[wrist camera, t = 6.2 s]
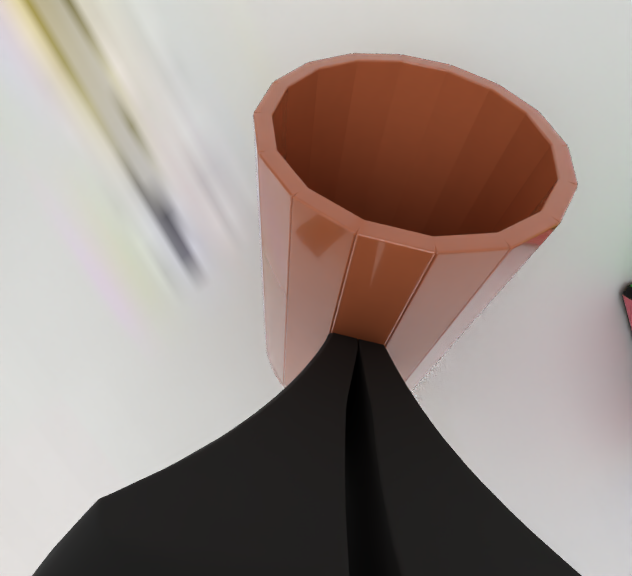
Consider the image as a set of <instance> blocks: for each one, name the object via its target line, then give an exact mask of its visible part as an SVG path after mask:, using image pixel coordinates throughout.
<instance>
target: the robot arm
mask: <svg viewBox="0 0 632 576" xmlns="http://www.w3.org/2000/svg"><path fill="white" fill-rule="evenodd" d="M32 576H581V575H580V574H579V573H578V572H577V571H576V570H574V569H573V568H572V567H571V566H570V565H569V564H568V563H566V562H565V561H564V560H563V559H562V558H561V557H560V556H559V555H557V554H556V553H555V552H554V551H553V550H552V549H551V548H550V547H548V546H547V545H546V544H545V543H544V542H543V541H542V540H541V539H540V538H538V537H537V536H536V535H535V534H534V533H533V532H532V531H531V530H530V529H529V528H528V527H527V526H525V525H524V524H523V523H522V522H521V521H520V520H519V519H518V518H517V517H516V516H515V515H514V514H513V513H512V512H511V511H510V510H509V509H508V508H507V507H506V506H505V505H504V504H503V503H502V502H501V501H500V500H499V499H498V498H497V497H496V496H495V495H494V494H493V493H492V492H491V491H490V490H489V489H488V488H487V487H486V486H485V485H484V484H483V483H482V482H481V481H480V480H479V479H478V478H477V476H476V475H475V474H474V473H473V472H472V471H471V470H470V469H469V468H468V467H467V465H466V464H465V463H464V462H463V461H462V460H461V458H460V457H459V456H458V455H457V454H456V452H455V451H454V450H453V449H452V448H451V447H450V445H449V444H448V443H447V442H446V441H445V439H444V438H443V437H442V436H441V434H440V433H439V432H438V430H437V429H436V428H435V427H434V425H433V424H432V422H431V421H430V420H429V418H428V417H427V415H426V414H425V413H424V411H423V410H422V408H421V407H420V406H419V404H418V403H417V401H416V399H415V398H414V396H413V395H412V393H411V391H410V390H409V388H408V387H407V385H406V383H405V382H404V380H403V378H402V377H401V375H400V373H399V371H398V370H397V368H396V366H395V364H394V362H393V361H392V359H391V357H390V355H389V353H388V351H387V349H386V348H385V346H384V345H382V344H378V343H374V342H369V341H365V340H361V339H359V340H358V341H357V338H353V337H349V336H345V335H341V334H337V333H330V334H328V336H327V338H326V340H325V342H324V344H323V345H322V347H321V348H320V349H319V351H318V352H317V354H316V355H315V356H314V357H313V359H312V360H311V361H310V362H309V363H308V365H307V366H306V367H305V368H304V369H303V370H302V371H301V373H300V374H299V375H298V376H297V377H296V378H295V379H294V380H293V381H292V382H291V383H290V384H289V385H288V386H287V387H286V388H285V389H284V390H282V391H281V392H280V393H279V394H278V395H277V396H276V397H275V398H273V399H272V400H271V401H270V402H269V403H267V404H266V405H265V406H264V407H262V408H261V409H260V410H259V411H257V412H256V413H255V414H253V415H252V416H251V417H249V418H248V419H246V420H245V421H244V422H242V423H241V424H239V425H238V426H237V427H235V428H234V429H232V430H231V431H229V432H228V433H226V434H225V435H223V436H222V437H220V438H218V439H217V440H215V441H213V442H212V443H210V444H208V445H206V446H205V447H203V448H201V449H199V450H198V451H196V452H194V453H192V454H191V455H189V456H187V457H185V458H184V459H182V460H180V461H178V462H176V463H175V464H173V465H171V466H169V467H167V468H165V469H163V470H161V471H159V472H157V473H154V474H152V475H150V476H148V477H146V478H144V479H142V480H139V481H137V482H135V483H133V484H131V485H129V486H127V487H125V488H122V489H120V490H118V491H116V492H114V493H112V494H109V495H107V496H105V497H102V498H100V499H98V500H97V502H96V503H95V504H94V505H93V506H92V507H91V508H90V509H89V510H88V511H87V512H86V513H85V514H84V515H83V516H82V518H81V519H80V520H79V521H78V522H77V523H76V524H75V525H74V526H73V527H72V528H71V530H70V531H69V532H68V533H67V534H66V535H65V536H64V537H63V538H62V540H61V541H60V542H59V543H58V544H57V545H56V546H55V547H54V548H53V550H52V551H51V552H50V553H49V554H48V556H47V557H46V558H45V560H44V561H43V562H42V564H41V565H40V566H39V567H38V569H37V570H36V571H35V573H34V574H33V575H32Z"/></svg>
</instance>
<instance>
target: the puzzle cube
mask: <svg viewBox="0 0 632 576" xmlns="http://www.w3.org/2000/svg"><path fill="white" fill-rule="evenodd" d="M622 295H623V299H624V303H625V307H626V310H627V314H628V318H629V322H630V326H631V329H632V285H629V286H628V287H627V288H626V290H625V291H624V293H623V294H622Z"/></svg>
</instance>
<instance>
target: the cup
mask: <svg viewBox="0 0 632 576" xmlns="http://www.w3.org/2000/svg"><path fill="white" fill-rule="evenodd" d="M253 122H254V141H255V159H256V178H257V197H258V215H259V234H260V253H261V271H262V290H263V309H264V327H265V338H266V350H267V356H268V359H269V362H270V365H271V367H272V369H273V371H274V373H275V375H276V377H277V378H278V380H279V381H280V383H281V384H282V385H283V386H284V388H286V387H287V386H288V385H289V384H290V383H291V382H292V381H293V380H294V379H295V378H296V377H297V376H298V375H299V374H300V373H301V371H302V370H303V369H304V368H305V367H306V366H307V365H308V363H309V362H310V361H311V360H312V359H313V357H314V356H315V355H316V354H317V352H318V351H319V349H320V348H321V347H322V345H323V344H324V342H325V340H326V338H327V336H328V334H330V333H337V334H341V335H345V336H349V337H353V338H357V341H358V340H359V339H361V340H365V341H369V342H374V343H378V344H382V345H384V346H385V348H386V349H387V351H388V353H389V355H390V357H391V359H392V361H393V362H394V364H395V366H396V368H397V370H398V371H399V373H400V375H401V377H402V378H403V380H404V382H405V383H406V385H407V387H408V388H409V390H410V391H412V390H413V388H414V387H415V386H416V385H417V384H418V383H419V382H420V381H421V379H422V378H423V377H424V376H425V375H426V374H427V373H428V372H429V370H430V369H431V368H432V367H433V366H434V365H435V364H436V363H437V361H438V360H439V359H440V358H441V357H442V356H443V355H444V354H445V352H446V351H447V350H448V349H449V348H450V347H451V346H452V344H453V343H454V342H455V341H456V340H457V339H458V338H459V337H460V335H461V334H462V333H463V332H464V331H465V330H466V329H467V328H468V326H469V325H470V324H471V323H472V322H473V321H474V320H475V319H476V317H477V316H478V315H479V314H480V313H481V312H482V311H483V310H484V308H485V307H486V306H487V305H488V304H489V303H490V302H491V301H492V299H493V298H494V297H495V296H496V295H497V294H498V293H499V292H500V290H501V289H502V288H503V287H504V286H505V285H506V284H507V282H508V281H509V280H510V279H511V278H512V277H513V276H514V275H515V273H516V272H517V271H518V270H519V269H520V268H521V267H522V266H523V264H524V263H525V262H526V261H527V260H528V259H529V258H530V257H531V255H532V254H533V253H534V252H535V251H536V250H537V249H538V248H539V246H540V245H541V244H542V243H543V242H544V241H545V240H546V239H547V237H548V236H549V235H550V234H551V233H552V232H553V231H554V230H555V228H556V227H557V226H558V225H559V224H560V223H561V221H562V218H563V216H564V214H565V212H566V210H567V208H568V206H569V204H570V202H571V200H572V198H573V196H574V194H575V191H576V189H577V185H578V183H577V179H576V175H575V171H574V167H573V163H572V159H571V155H570V151H569V147H567V144H566V143H565V142H564V141H563V139H562V138H561V137H560V136H559V135H558V133H557V132H556V131H555V130H554V129H553V127H552V126H551V125H550V124H549V123H548V121H547V120H546V119H545V118H544V117H543V115H542V114H541V113H540V112H538V110H536V109H535V108H533V107H532V106H530V105H529V104H527V103H526V102H524V101H523V100H521V99H520V98H518V97H517V96H515V95H514V94H512V93H511V92H509V91H508V90H506V89H505V88H503V87H502V86H500V85H497V83H494V82H492V81H489V80H487V79H485V78H482V77H480V76H477V75H475V74H472V73H470V72H467V71H465V70H462V69H460V68H457V67H455V66H452V65H449V64H445V63H440V62H435V61H430V60H426V59H421V58H416V57H411V56H406V55H400V54H362V53H353V54H346V55H341V56H336V57H331V58H326V59H321V60H316V61H311V62H309V63H305V64H304V65H302V66H300V67H298V68H297V69H295V70H293V71H291V72H290V73H288V74H286V75H284V76H282V77H281V78H279V79H277V80H275V81H274V82H273V83H272V84H271V86H270V87H269V89H268V90H267V92H266V94H265V95H264V97H263V98H262V100H261V102H260V103H259V105H258V106H257V108H256V110H255V111H254V115H253Z"/></svg>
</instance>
